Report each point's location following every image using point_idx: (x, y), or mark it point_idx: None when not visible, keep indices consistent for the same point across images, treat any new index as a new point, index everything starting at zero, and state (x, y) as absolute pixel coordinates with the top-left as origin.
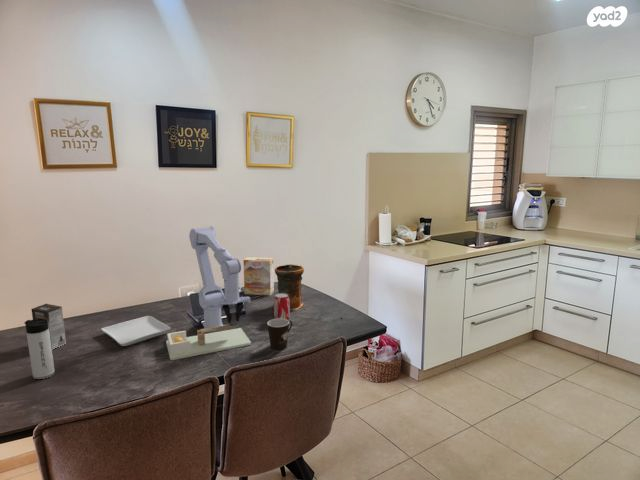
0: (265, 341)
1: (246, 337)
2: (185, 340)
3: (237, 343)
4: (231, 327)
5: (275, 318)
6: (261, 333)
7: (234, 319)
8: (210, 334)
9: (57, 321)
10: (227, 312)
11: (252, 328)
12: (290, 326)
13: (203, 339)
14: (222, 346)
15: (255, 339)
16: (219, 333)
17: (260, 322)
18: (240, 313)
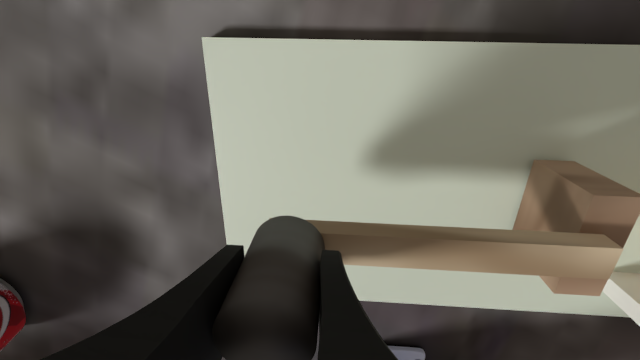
0: (98, 47)
1: (221, 142)
2: (611, 274)
3: (306, 70)
4: (314, 221)
5: (10, 309)
6: (119, 186)
7: (268, 256)
8: (430, 287)
9: None
10: (363, 354)
11: (168, 272)
12: None
13: (572, 175)
14: (429, 70)
15: (167, 116)
16: (375, 277)
17: (116, 319)
18: (154, 301)
